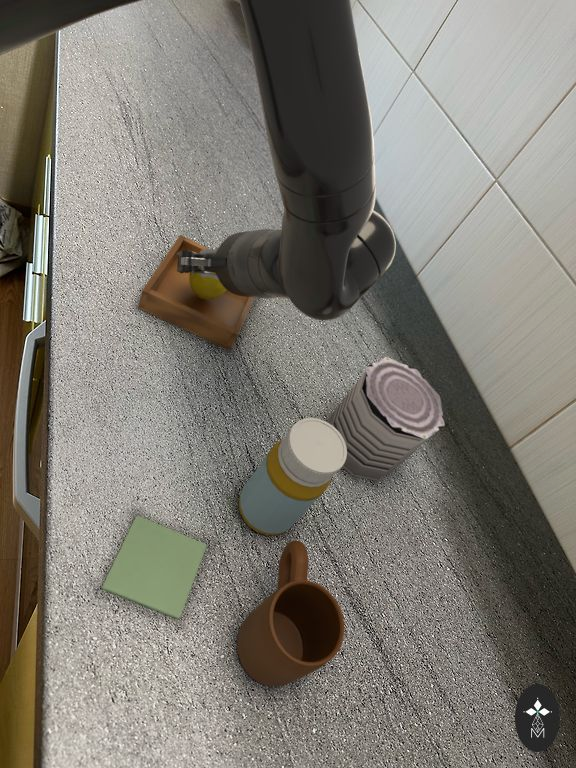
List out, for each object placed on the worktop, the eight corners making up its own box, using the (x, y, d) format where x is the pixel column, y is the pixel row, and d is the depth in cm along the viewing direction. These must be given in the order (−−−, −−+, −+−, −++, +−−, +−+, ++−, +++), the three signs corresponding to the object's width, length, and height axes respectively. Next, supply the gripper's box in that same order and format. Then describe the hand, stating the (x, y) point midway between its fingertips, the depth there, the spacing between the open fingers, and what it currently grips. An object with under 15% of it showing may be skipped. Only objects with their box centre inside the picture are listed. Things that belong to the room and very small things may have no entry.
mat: (101, 589, 55) (101, 587, 54) (135, 516, 60) (136, 514, 60) (178, 619, 56) (179, 618, 55) (205, 546, 61) (207, 544, 61)
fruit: (222, 314, 81) (239, 274, 75) (183, 308, 79) (198, 266, 73) (219, 286, 84) (236, 245, 78) (182, 279, 82) (196, 237, 76)
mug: (235, 562, 61) (265, 528, 54) (301, 568, 64) (337, 536, 57) (234, 688, 54) (268, 666, 47) (308, 689, 56) (351, 669, 49)
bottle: (279, 475, 70) (332, 408, 59) (302, 528, 67) (362, 468, 56) (228, 488, 66) (274, 419, 55) (250, 545, 63) (303, 484, 52)
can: (321, 400, 79) (361, 346, 71) (393, 417, 83) (439, 368, 74) (325, 473, 72) (370, 423, 64) (403, 488, 76) (456, 443, 67)
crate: (137, 308, 77) (142, 289, 74) (175, 252, 86) (180, 234, 83) (230, 351, 78) (238, 335, 76) (257, 292, 87) (264, 275, 85)
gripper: (316, 235, 67) (256, 241, 82) (199, 223, 61) (156, 232, 75) (312, 300, 69) (253, 294, 83) (197, 295, 62) (155, 290, 77)
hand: (207, 265), depth 79 cm, fingers closed on fruit, 5 cm apart
